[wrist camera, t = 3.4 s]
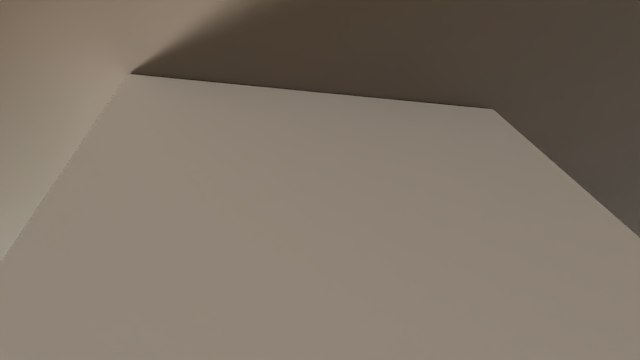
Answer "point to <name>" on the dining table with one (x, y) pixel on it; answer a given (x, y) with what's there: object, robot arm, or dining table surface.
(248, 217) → the off-white matte cube
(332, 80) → the dining table surface
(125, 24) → the dining table surface
